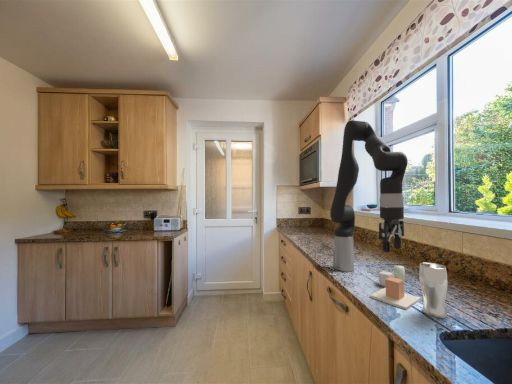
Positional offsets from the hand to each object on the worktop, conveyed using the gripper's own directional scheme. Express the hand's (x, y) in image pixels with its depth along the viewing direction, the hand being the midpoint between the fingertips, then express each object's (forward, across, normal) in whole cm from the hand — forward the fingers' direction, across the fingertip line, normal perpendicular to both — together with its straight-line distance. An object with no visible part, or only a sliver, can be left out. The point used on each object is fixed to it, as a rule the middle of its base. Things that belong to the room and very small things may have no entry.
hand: (392, 250), depth 82 cm
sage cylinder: (+18, -21, -7) cm, 28 cm away
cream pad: (+18, 0, 0) cm, 18 cm away
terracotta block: (+17, 0, 0) cm, 17 cm away
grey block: (+18, -11, -8) cm, 22 cm away
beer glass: (+18, +1, +13) cm, 22 cm away
